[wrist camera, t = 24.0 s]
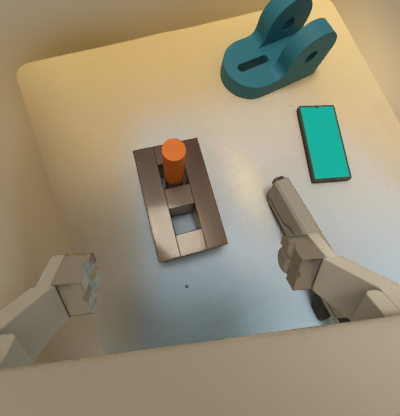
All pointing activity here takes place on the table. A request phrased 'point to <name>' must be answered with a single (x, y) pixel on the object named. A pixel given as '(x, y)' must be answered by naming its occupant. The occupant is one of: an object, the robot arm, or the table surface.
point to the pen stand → (179, 203)
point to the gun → (299, 232)
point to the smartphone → (323, 144)
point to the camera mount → (277, 50)
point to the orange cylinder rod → (173, 162)
